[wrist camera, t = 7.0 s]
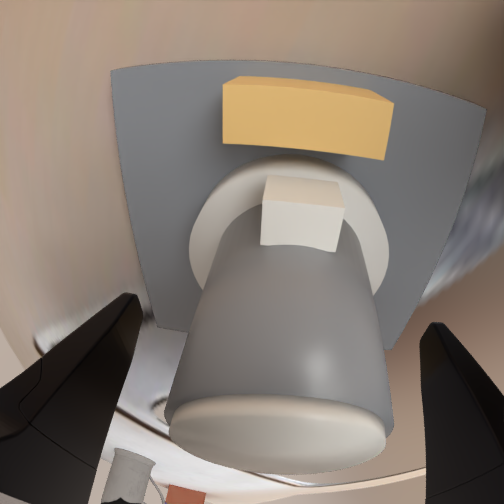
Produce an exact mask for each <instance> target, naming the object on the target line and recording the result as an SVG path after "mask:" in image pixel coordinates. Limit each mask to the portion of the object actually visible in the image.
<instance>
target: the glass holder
mask: <svg viewBox="0 0 504 504" xmlns="http://www.w3.org/2000/svg"><path fill="white" fill-rule="evenodd" d="M114 450H115V456H114V459H113V462H112V466H111V469H110V472H109V476H108V479H107V482H106V485H105V489H104V492H103V495H102V499H101V504H142V503H143V504H146V503H145V502H143V500H144V496H145V492H146V488H147V484H148V481H149V479H150V480H151V482H152V483H153V485H154V486H155V488H156V489H157V491H158V492H159V494H160V496H161V500H162V504H165V501H164V497H163V495H162V493H161V492H160V490H159V488H158V487H157V485H156V484H155V482H154V481H153V479H152V477H151V475H150V473H151V469H152V467H153V466H154V465H155V462H154V461H152V460H150V459H148V458H146V457H143V456H141V455H138V454H136V453H133V452H130V451H127V450H123V449H119V448H115V449H114Z"/></svg>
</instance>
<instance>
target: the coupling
mask: <svg viewBox="0 0 504 504" xmlns="http://www.w3.org/2000/svg"><path fill="white" fill-rule="evenodd" d="M344 212H345V206H344V202H343V199H342V195H341V192H340V188H339V185H338V182H333V181H325V180H316V179H307V178H298V177H288V176H277V175H268V176H267V181H266V186H265V191H264V196H263V203H262V204H260V205H257V206H254V207H252V208H250V209H248V210H246V211H245V212H243V213H242V214H240V215H239V216H238V217H237V218H236V219H234V220H233V221H232V222H231V223H230V225H229V226H228V227H227V228H226V230H225V232H224V233H223V235H222V237H221V240H220V243H219V245H218V248H217V251H216V254H215V257H214V260H213V262H212V265H211V268H210V271H209V274H208V277H207V280H206V283H205V286H204V289H203V292H202V295H201V298H200V300H199V303H198V306H197V309H196V312H195V315H194V318H193V322H192V325H191V328H190V331H189V334H188V337H187V340H186V343H185V346H184V349H183V352H182V355H181V359H180V362H179V365H178V368H177V371H176V374H175V378H174V381H173V384H172V387H171V391H170V394H169V397H168V400H167V404H166V407H165V410H164V416H165V419H166V421H167V423H168V424H169V426H170V428H169V436H170V438H171V439H172V441H173V442H174V443H175V444H176V445H178V446H179V447H180V448H182V449H183V450H185V451H187V452H188V453H190V454H192V455H194V456H196V457H199V458H201V459H204V460H206V461H209V462H212V463H215V464H218V465H222V466H225V467H229V468H234V469H238V470H244V471H250V472H257V473H266V474H281V475H282V474H283V475H299V474H316V473H324V472H331V471H337V470H341V469H345V468H349V467H353V466H356V465H359V464H362V463H364V462H367V461H369V460H371V459H372V458H374V457H376V456H377V455H379V454H380V453H381V452H382V451H383V449H384V448H385V446H386V438H387V437H388V436H389V435H390V433H391V432H392V430H393V427H394V419H393V410H392V402H391V394H390V387H389V380H388V373H387V367H386V360H385V354H384V348H383V343H382V337H381V332H380V327H379V322H378V317H377V312H376V307H375V302H374V298H373V293H372V289H371V284H370V280H369V276H368V272H367V268H366V264H365V260H364V256H363V252H362V248H361V244H360V241H359V239H358V237H357V235H356V233H355V232H354V230H353V229H352V227H351V226H350V225H349V224H348V223H347V222H346V220H344V219H343V216H344Z"/></svg>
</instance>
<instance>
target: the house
mask: <svg viewBox="0 0 504 504" xmlns="http://www.w3.org/2000/svg"><path fill="white" fill-rule="evenodd" d="M205 495H206V493H203V492H199V491H194V490H190V489H186V488H182V487H178V486H174V485H169V489H168V493H167V497H166V502H165V504H204V500H205Z"/></svg>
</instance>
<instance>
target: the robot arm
mask: <svg viewBox="0 0 504 504" xmlns="http://www.w3.org/2000/svg"><path fill="white" fill-rule="evenodd" d="M142 319H143V311H142V308H141V305H140V302H139V299H138V296H137V295H136V294H132V293H123V294H121V295H120V296H119V297H117V298H116V299H115V300H113V301H112V302H111V303H109V304H108V305H107V306H106V307H104V308H103V309H102V310H100V311H99V312H98V313H96V314H95V315H94V316H93V317H91V318H90V319H89V320H87V321H86V322H85V323H84V324H82V325H81V326H80V327H78V328H77V329H76V330H75V331H73V332H72V333H71V334H70V335H68V336H67V337H66V338H65V339H63V340H62V341H61V342H60V343H58V344H57V345H56V346H55V347H53V348H52V349H51V350H50V351H48V352H47V353H46V354H45V355H44V356H43V357H42V358H40V359H39V360H37V361H36V362H35V363H34V364H32V365H31V366H30V367H29V368H27V369H26V370H25V371H24V372H22V373H21V374H20V375H18V376H17V377H15V378H14V379H13V380H12V381H10V382H9V383H7V384H6V385H4V386H3V387H1V388H0V504H88V501H89V497H90V493H91V489H92V486H93V482H94V478H95V475H96V471H97V467H98V463H99V460H100V457H101V453H102V450H103V446H104V443H105V440H106V437H107V433H108V430H109V427H110V424H111V421H112V418H113V415H114V411H115V408H116V405H117V402H118V399H119V397H120V394H121V391H122V388H123V385H124V382H125V379H126V376H127V374H128V371H129V368H130V365H131V362H132V359H133V355H134V351H135V347H136V343H137V339H138V335H139V331H140V327H141V323H142ZM420 368H421V369H420V370H421V393H422V403H423V414H424V427H425V445H426V499H425V504H504V396H503V395H502V393H501V392H500V391H499V389H498V388H497V386H496V385H495V384H494V383H493V381H492V380H491V379H490V377H489V376H488V375H487V374H486V372H485V371H484V370H483V369H482V368H481V366H480V365H479V364H478V363H477V361H476V360H475V359H474V358H473V357H472V355H471V354H470V353H469V352H468V351H467V349H466V348H465V347H464V346H463V345H462V344H461V342H460V341H459V340H458V339H457V338H456V337H455V336H454V334H453V333H452V332H451V331H450V330H449V329H448V328H447V326H446V325H445V324H443V323H441V322H432V323H431V324H430V325H429V326H428V328H427V329H426V331H425V333H424V334H423V336H422V338H421V340H420Z"/></svg>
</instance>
